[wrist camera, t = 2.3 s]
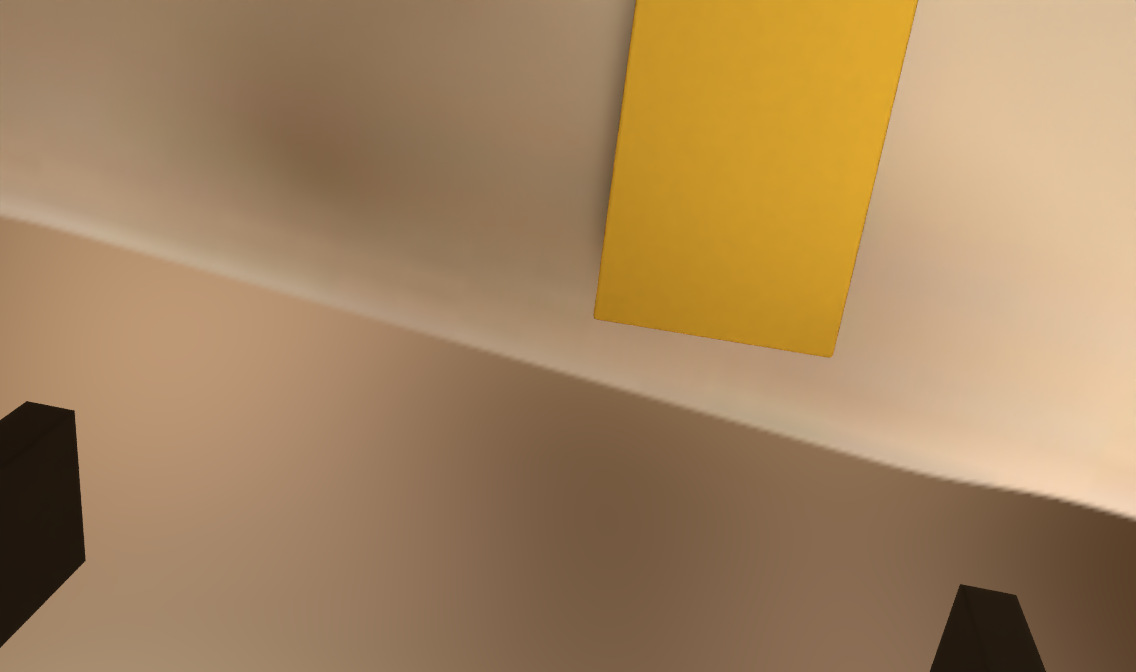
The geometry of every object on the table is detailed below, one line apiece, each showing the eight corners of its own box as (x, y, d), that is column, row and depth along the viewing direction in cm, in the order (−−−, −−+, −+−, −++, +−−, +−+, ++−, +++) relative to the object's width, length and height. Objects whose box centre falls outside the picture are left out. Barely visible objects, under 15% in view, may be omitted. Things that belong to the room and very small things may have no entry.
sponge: (816, 277, 29) (832, 359, 24) (618, 245, 29) (592, 319, 24) (885, -30, 25) (921, -9, 20) (661, -59, 26) (641, -47, 21)
